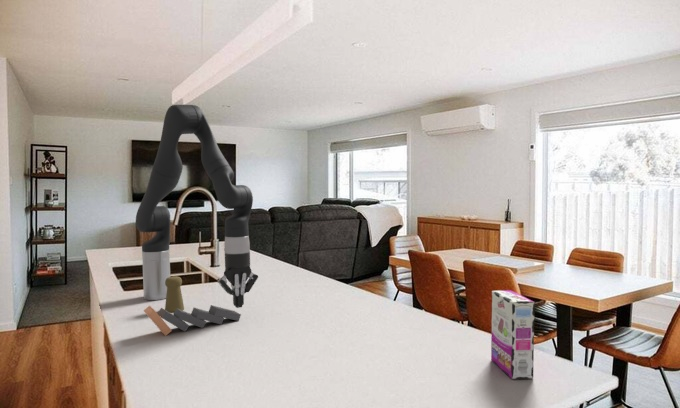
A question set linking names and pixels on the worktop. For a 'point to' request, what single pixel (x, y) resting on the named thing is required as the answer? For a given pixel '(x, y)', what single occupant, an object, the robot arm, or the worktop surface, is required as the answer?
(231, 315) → the domino
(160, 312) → the domino
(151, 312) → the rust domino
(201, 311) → the domino
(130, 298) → the worktop surface
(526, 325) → the candy bar box
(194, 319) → the domino
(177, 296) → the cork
